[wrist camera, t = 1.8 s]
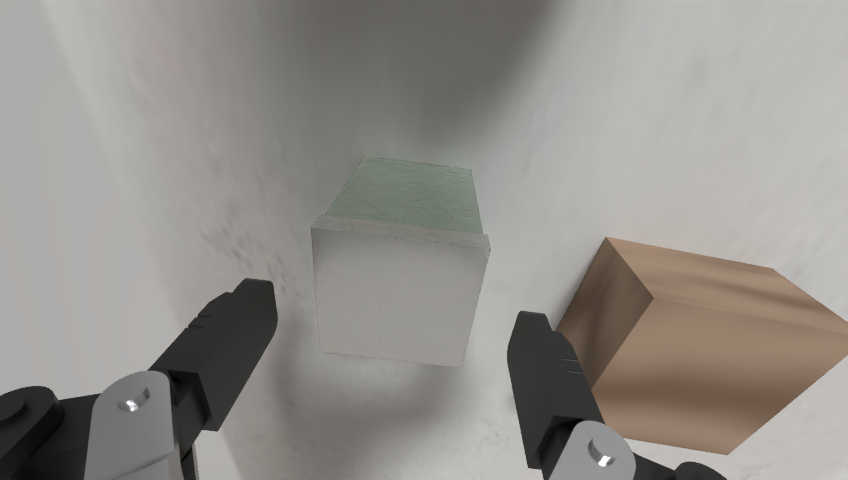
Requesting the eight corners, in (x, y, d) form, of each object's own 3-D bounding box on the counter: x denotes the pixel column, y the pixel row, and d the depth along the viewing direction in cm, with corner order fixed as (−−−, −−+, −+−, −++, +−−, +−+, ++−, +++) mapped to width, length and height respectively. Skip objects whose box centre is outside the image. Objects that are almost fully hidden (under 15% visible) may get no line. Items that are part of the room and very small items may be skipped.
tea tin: (362, 153, 16) (310, 227, 10) (473, 167, 16) (490, 248, 10) (361, 247, 19) (320, 351, 13) (456, 259, 19) (461, 367, 13)
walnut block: (603, 234, 18) (654, 298, 13) (768, 265, 18) (868, 337, 14) (541, 352, 22) (564, 428, 18) (674, 375, 23) (727, 455, 18)
